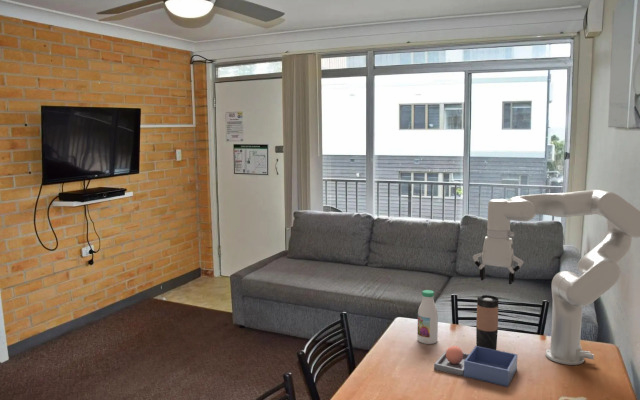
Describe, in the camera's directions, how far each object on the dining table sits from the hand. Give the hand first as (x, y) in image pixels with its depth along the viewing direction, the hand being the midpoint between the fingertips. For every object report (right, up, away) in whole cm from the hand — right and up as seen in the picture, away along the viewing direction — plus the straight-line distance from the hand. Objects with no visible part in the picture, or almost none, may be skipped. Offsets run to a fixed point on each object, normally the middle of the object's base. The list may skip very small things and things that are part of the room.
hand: (496, 281), depth 184 cm
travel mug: (-1, -27, +10) cm, 29 cm away
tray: (-16, -29, -2) cm, 33 cm away
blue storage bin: (-5, -30, -9) cm, 31 cm away
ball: (-16, -25, -3) cm, 30 cm away
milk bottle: (-21, -27, +19) cm, 39 cm away
